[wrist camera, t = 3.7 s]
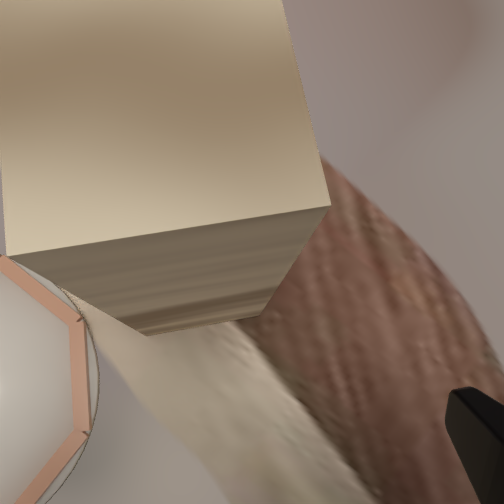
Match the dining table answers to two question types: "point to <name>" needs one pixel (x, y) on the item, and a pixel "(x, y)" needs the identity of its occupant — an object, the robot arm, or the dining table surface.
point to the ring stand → (42, 385)
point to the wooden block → (156, 154)
